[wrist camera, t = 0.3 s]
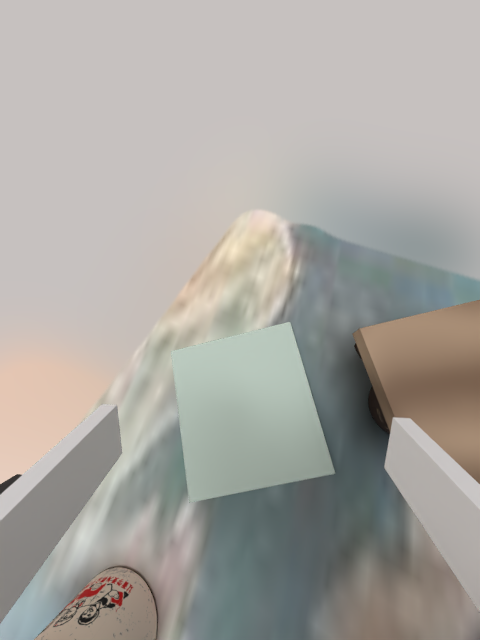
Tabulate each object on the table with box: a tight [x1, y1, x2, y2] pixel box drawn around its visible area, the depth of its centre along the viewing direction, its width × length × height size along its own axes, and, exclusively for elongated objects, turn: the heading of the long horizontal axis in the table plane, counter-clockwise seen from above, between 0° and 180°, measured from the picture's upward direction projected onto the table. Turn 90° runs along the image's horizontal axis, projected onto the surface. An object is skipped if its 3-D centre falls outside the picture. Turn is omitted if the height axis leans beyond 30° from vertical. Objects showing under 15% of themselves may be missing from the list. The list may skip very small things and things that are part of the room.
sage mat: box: [171, 322, 335, 503], centre depth 26 cm, size 16×15×1 cm
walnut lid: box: [353, 300, 480, 484], centre depth 15 cm, size 11×11×2 cm
